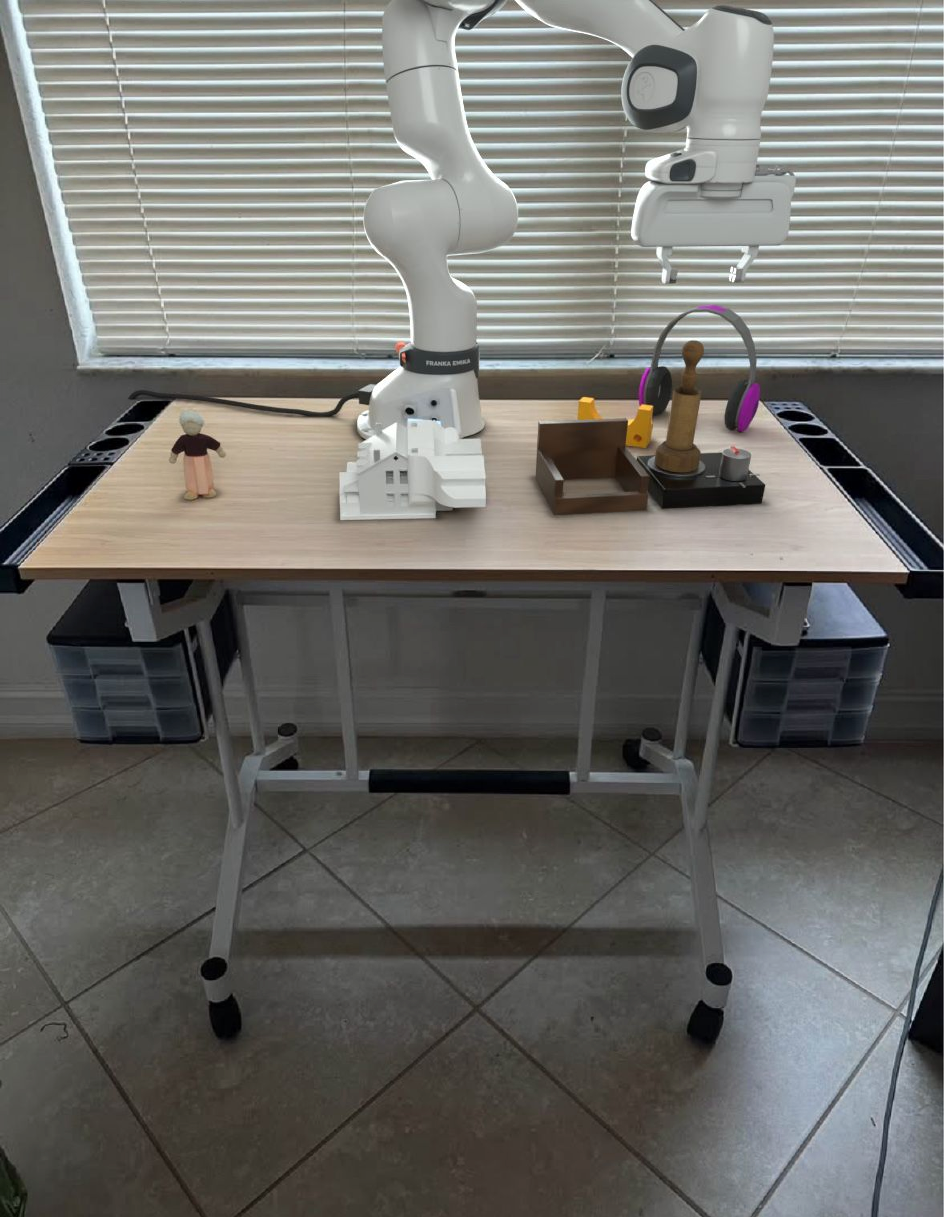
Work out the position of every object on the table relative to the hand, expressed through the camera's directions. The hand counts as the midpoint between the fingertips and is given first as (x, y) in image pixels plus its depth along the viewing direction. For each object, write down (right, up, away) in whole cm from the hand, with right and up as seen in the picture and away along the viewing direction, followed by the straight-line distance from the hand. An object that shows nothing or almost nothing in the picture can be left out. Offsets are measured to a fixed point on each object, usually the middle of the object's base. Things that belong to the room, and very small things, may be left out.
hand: (702, 282), depth 112 cm
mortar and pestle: (0, -22, +13) cm, 26 cm away
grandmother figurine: (-70, -27, +11) cm, 76 cm away
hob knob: (+7, -24, +11) cm, 27 cm away
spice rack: (-13, -26, +12) cm, 32 cm away
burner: (0, -22, +14) cm, 26 cm away
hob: (+3, -25, +14) cm, 29 cm away
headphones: (+9, -10, +40) cm, 42 cm away
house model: (-39, -29, +8) cm, 49 cm away
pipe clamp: (-6, -15, +32) cm, 36 cm away
